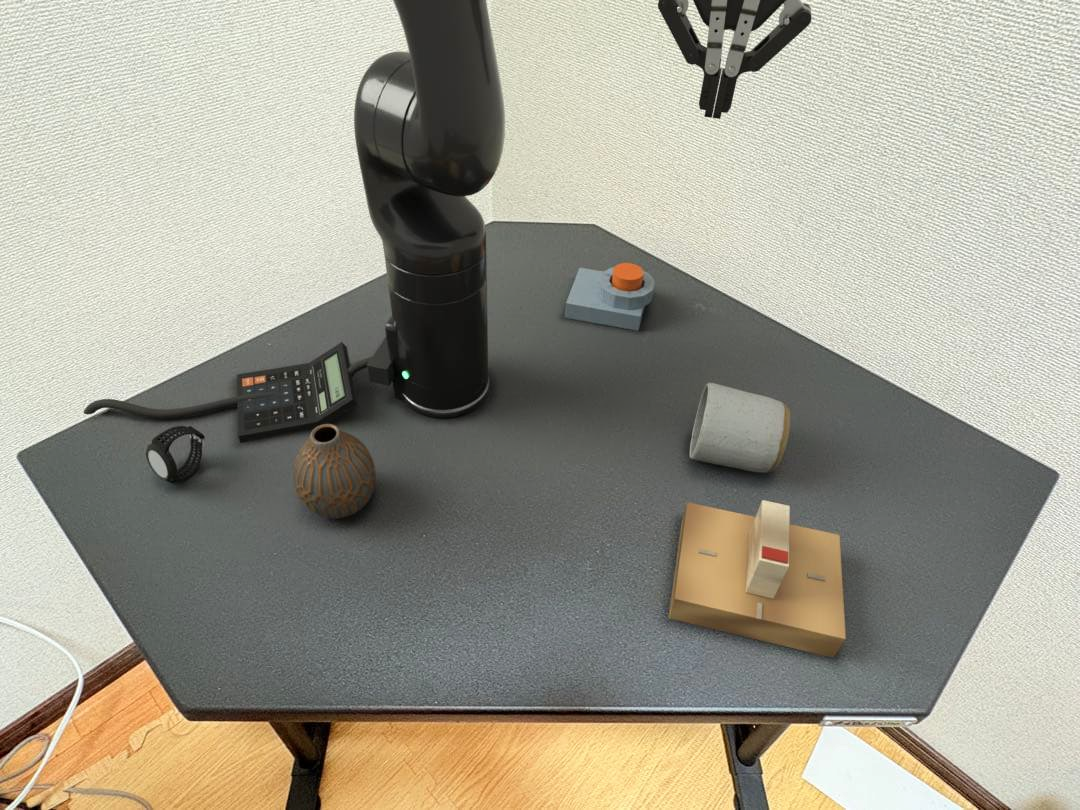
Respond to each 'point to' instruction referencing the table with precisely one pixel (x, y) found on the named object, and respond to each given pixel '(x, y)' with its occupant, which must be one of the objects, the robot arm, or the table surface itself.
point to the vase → (333, 473)
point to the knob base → (723, 604)
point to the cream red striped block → (768, 549)
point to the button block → (607, 300)
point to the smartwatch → (164, 460)
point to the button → (627, 277)
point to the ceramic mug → (739, 429)
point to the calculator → (296, 396)
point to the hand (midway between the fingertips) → (712, 114)
